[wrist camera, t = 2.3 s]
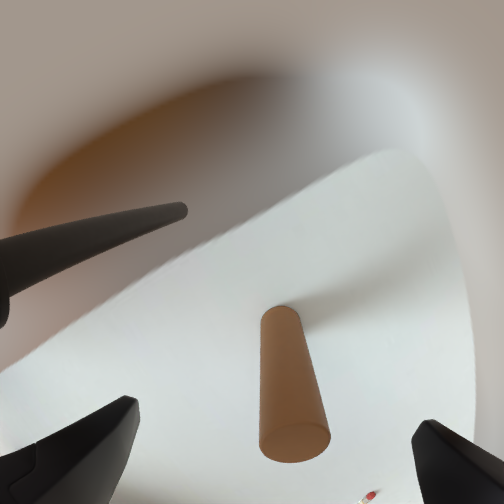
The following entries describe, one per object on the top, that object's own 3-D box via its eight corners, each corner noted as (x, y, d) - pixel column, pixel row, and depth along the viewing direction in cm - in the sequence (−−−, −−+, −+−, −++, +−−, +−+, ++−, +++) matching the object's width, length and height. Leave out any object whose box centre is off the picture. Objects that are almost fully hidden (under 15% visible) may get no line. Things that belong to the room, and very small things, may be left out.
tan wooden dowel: (252, 319, 14) (244, 441, 6) (285, 297, 14) (309, 411, 6) (275, 346, 15) (283, 470, 7) (307, 326, 14) (343, 445, 6)
